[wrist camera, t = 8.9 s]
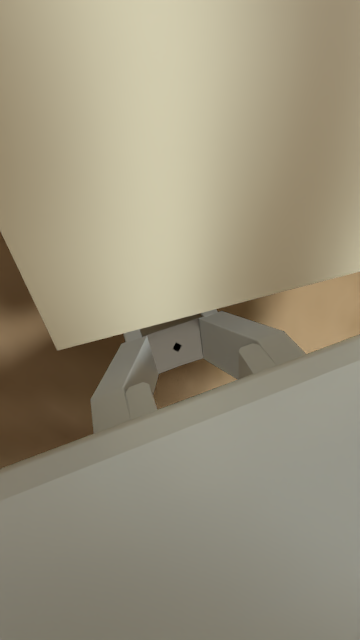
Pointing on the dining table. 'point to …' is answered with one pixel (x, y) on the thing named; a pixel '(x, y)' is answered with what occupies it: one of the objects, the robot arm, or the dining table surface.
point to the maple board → (176, 155)
